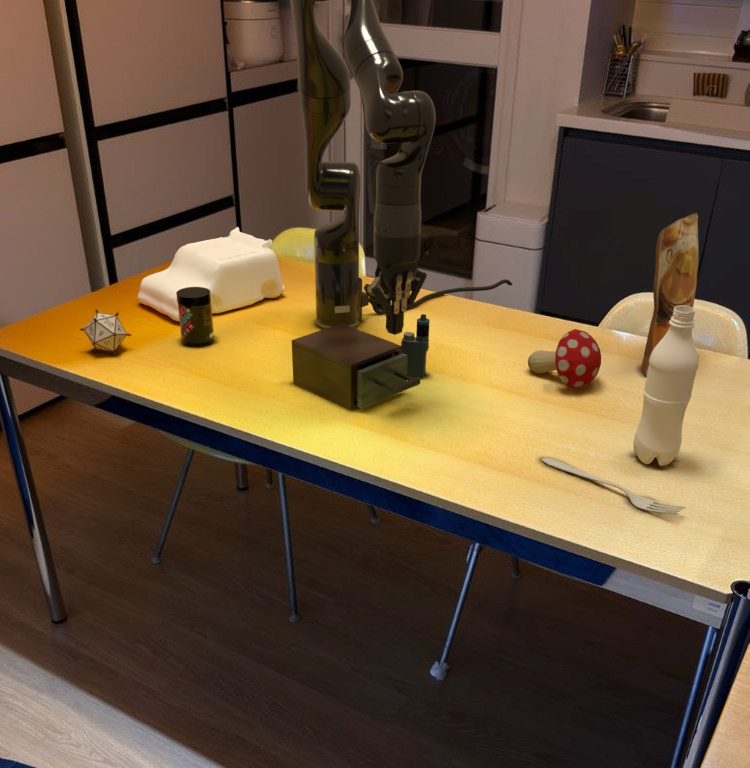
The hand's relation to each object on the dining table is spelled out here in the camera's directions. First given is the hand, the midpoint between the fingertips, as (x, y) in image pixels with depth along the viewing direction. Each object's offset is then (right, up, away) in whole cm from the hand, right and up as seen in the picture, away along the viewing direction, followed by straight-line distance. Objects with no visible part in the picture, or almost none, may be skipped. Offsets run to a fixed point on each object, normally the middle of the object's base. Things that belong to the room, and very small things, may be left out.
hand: (394, 332), depth 149 cm
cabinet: (-9, -7, +15) cm, 18 cm away
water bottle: (+42, -22, -7) cm, 47 cm away
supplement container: (-40, +4, +32) cm, 51 cm away
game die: (-57, +1, +28) cm, 63 cm away
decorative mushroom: (+32, -6, +19) cm, 38 cm away
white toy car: (-40, +17, +53) cm, 69 cm away
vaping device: (+4, -5, +20) cm, 20 cm away
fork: (+32, -27, -15) cm, 44 cm away
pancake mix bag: (+54, -1, +26) cm, 59 cm away
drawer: (-5, -9, +11) cm, 15 cm away
